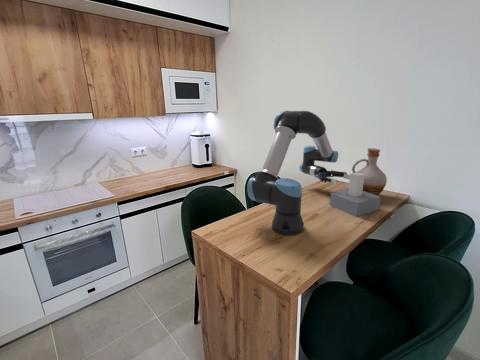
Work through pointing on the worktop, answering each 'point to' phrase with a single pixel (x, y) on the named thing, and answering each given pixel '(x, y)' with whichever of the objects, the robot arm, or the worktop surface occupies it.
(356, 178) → the post
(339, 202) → the well block
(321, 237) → the worktop surface
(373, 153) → the jug
